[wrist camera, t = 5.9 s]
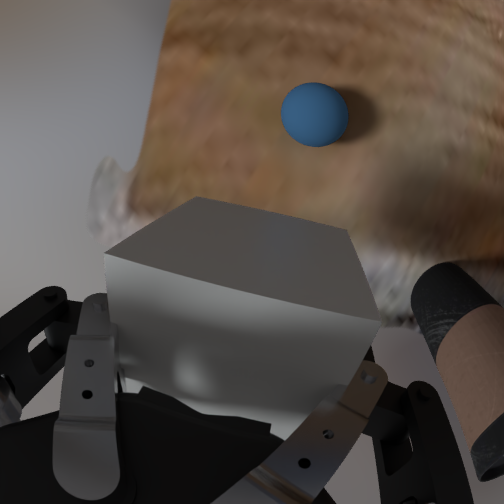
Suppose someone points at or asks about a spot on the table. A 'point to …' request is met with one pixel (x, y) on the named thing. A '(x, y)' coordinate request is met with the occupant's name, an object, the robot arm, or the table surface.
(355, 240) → the table surface
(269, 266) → the matte gray cube
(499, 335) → the travel mug
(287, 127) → the ball
